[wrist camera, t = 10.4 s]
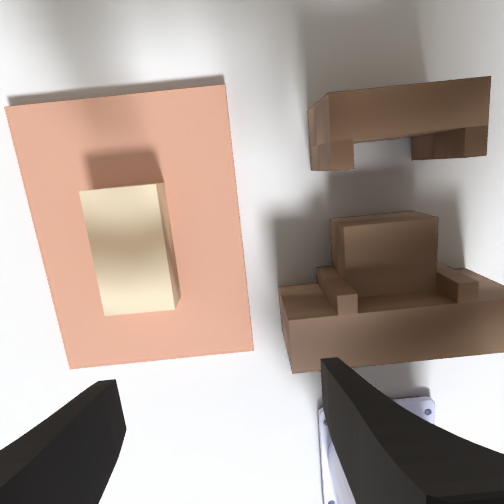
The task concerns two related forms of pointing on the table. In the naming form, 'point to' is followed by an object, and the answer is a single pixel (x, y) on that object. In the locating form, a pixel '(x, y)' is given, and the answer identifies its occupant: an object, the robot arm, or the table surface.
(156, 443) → the table surface
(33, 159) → the mat
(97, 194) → the slab
